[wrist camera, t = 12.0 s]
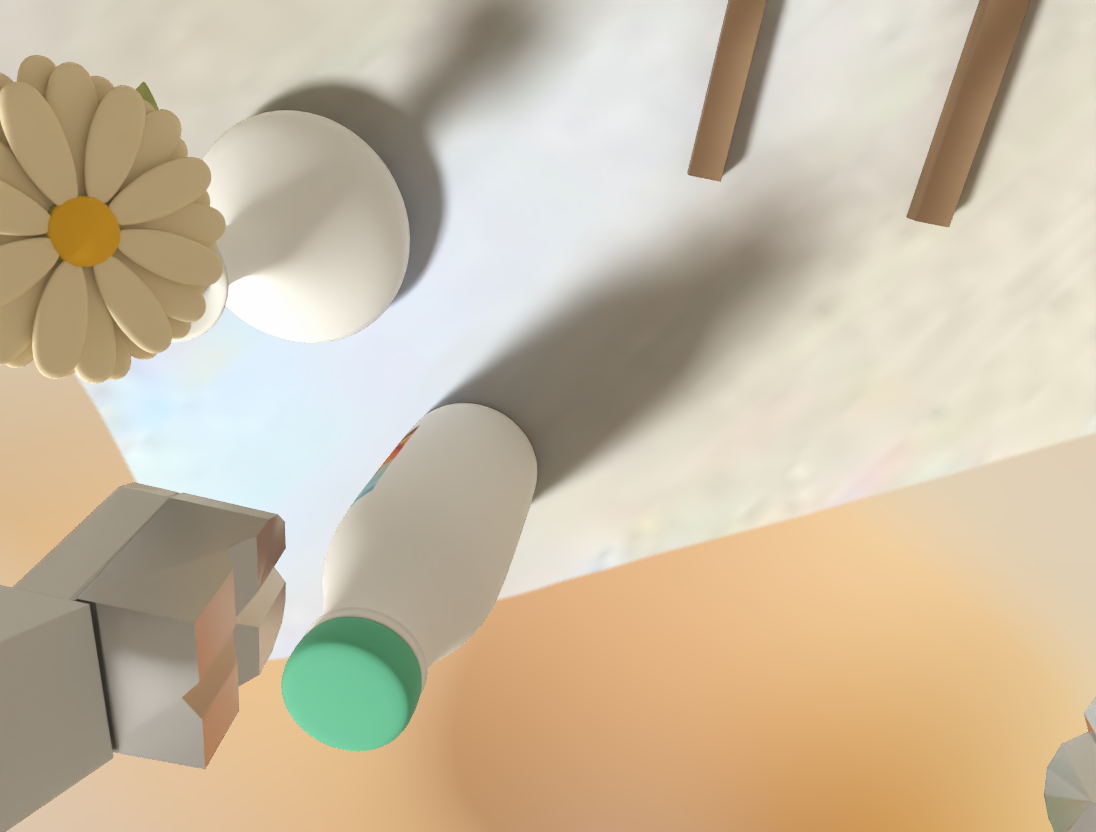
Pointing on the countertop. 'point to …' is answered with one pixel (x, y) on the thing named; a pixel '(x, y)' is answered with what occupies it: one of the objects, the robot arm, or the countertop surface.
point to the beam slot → (955, 128)
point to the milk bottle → (411, 574)
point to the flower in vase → (179, 226)
